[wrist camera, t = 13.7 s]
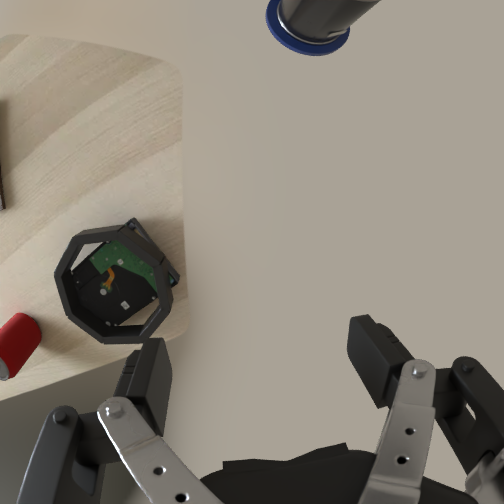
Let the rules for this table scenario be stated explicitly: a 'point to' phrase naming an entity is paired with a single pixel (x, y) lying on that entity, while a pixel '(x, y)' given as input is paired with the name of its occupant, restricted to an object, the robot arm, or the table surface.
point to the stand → (1, 194)
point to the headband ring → (89, 320)
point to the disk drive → (117, 280)
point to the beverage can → (17, 344)
